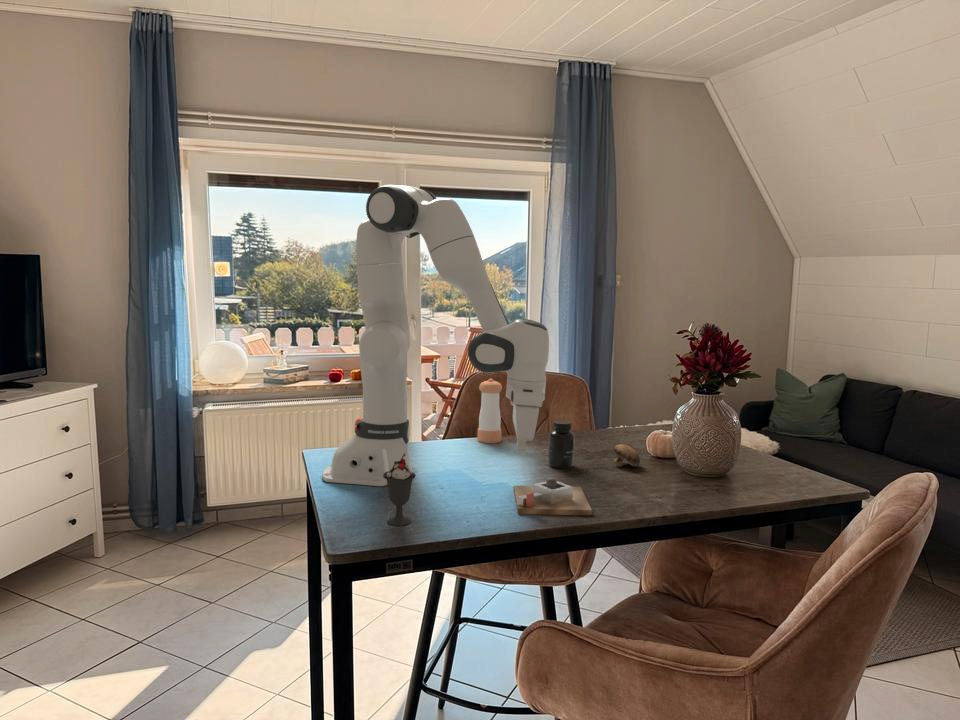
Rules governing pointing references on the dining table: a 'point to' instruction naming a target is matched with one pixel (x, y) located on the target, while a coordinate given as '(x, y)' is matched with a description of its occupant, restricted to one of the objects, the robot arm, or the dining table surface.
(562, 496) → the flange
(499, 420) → the pepper shaker
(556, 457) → the supplement bottle
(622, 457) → the mushroom
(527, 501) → the dowel pin
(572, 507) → the post base
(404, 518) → the sundae
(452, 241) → the robot arm
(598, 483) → the dining table surface
